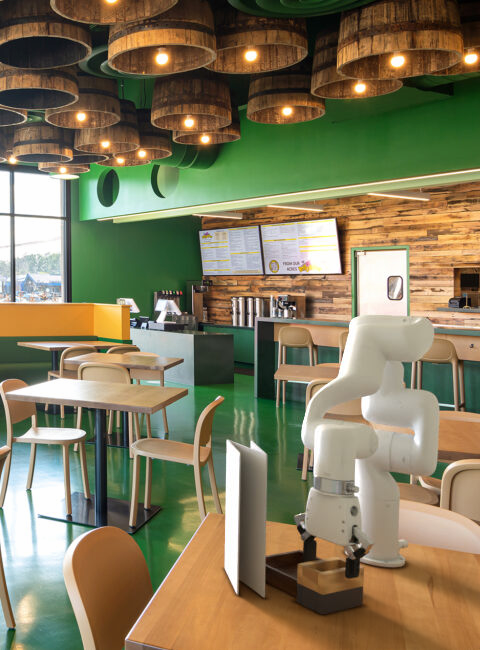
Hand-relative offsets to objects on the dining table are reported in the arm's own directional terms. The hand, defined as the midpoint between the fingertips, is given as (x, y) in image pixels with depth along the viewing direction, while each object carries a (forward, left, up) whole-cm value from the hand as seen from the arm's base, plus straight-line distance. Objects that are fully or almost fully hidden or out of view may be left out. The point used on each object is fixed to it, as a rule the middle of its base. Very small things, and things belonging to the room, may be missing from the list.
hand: (329, 568), depth 137 cm
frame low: (0, 0, -8) cm, 8 cm away
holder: (-4, -11, -8) cm, 14 cm away
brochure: (+9, -14, -8) cm, 18 cm away
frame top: (0, 0, -4) cm, 4 cm away
